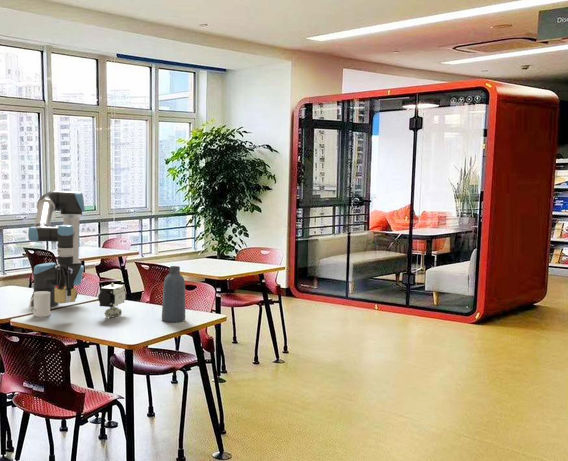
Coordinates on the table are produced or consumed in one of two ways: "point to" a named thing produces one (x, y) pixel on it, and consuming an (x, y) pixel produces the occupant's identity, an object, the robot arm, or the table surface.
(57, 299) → the tan block
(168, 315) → the gray bottle
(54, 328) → the table surface
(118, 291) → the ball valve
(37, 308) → the mug
